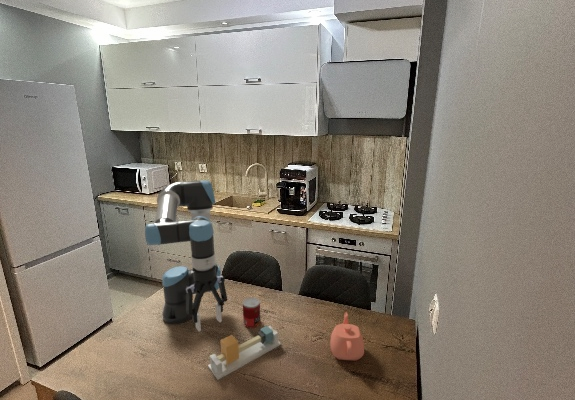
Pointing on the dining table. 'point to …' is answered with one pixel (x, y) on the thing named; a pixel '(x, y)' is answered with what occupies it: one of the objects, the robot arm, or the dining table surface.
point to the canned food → (251, 312)
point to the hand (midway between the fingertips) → (208, 324)
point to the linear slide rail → (245, 352)
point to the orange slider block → (230, 348)
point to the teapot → (347, 341)
